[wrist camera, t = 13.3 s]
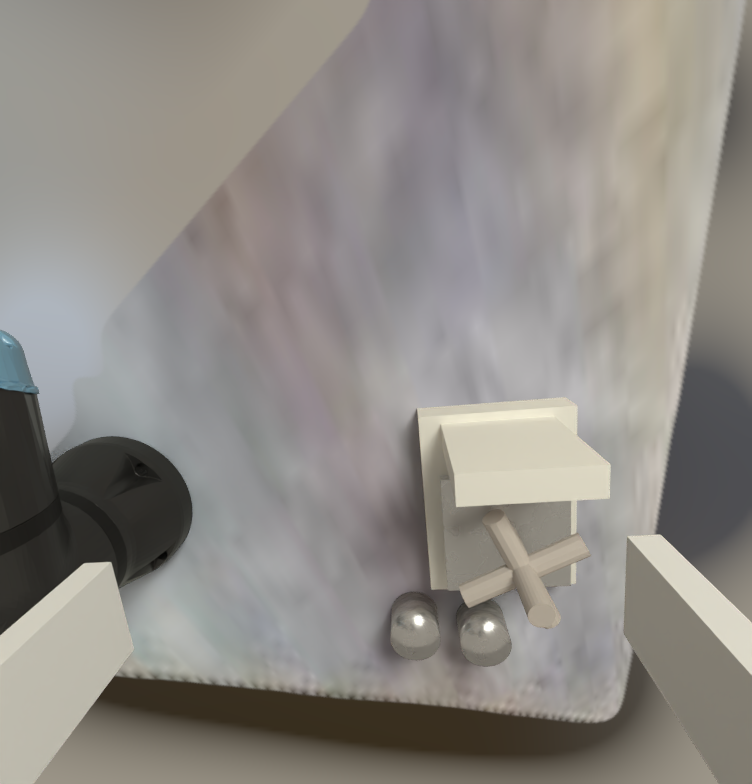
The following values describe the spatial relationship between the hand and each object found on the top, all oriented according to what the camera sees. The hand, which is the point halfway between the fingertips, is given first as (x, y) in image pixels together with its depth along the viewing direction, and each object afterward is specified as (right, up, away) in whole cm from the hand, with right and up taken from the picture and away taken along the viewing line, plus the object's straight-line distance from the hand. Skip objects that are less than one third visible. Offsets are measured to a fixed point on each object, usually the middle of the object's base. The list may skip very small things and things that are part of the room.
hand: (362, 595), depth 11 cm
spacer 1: (+5, -19, +37) cm, 42 cm away
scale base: (+12, -5, +33) cm, 35 cm away
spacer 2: (+12, -19, +37) cm, 43 cm away
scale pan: (+12, -7, +29) cm, 32 cm away
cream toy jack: (+12, -7, +28) cm, 31 cm away
